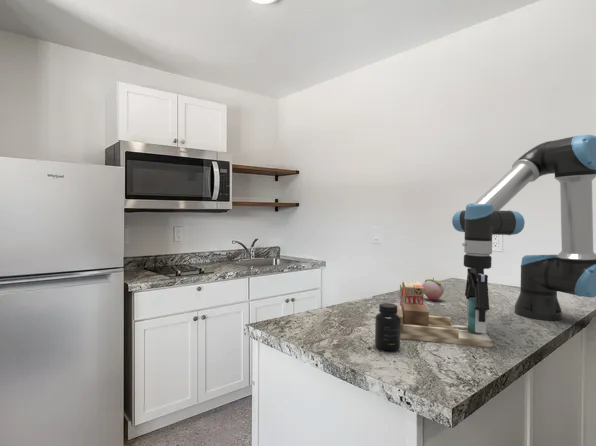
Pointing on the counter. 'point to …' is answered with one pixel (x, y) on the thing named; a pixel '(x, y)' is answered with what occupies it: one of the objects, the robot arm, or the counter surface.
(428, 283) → the decorative fruit
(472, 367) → the counter surface
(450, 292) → the counter surface
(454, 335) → the lane board
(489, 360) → the counter surface
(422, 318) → the brown teal long piece
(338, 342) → the counter surface
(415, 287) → the stack of blocks
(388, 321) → the supplement bottle
